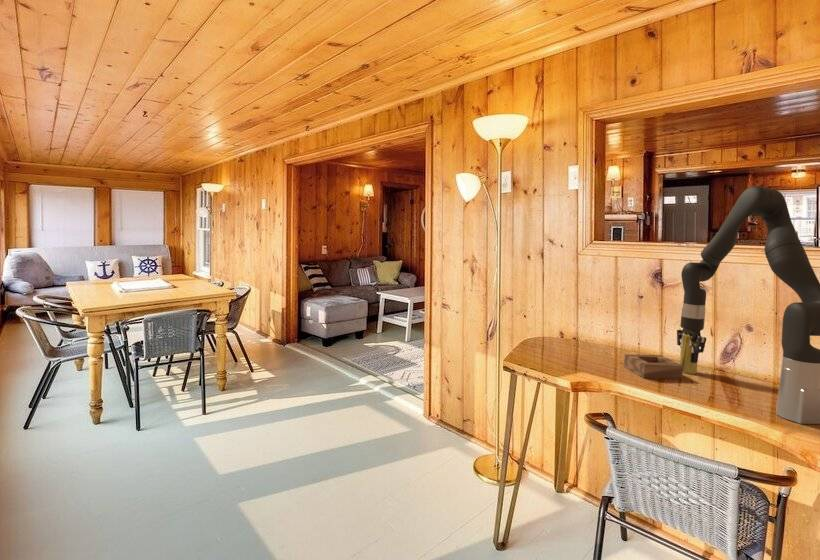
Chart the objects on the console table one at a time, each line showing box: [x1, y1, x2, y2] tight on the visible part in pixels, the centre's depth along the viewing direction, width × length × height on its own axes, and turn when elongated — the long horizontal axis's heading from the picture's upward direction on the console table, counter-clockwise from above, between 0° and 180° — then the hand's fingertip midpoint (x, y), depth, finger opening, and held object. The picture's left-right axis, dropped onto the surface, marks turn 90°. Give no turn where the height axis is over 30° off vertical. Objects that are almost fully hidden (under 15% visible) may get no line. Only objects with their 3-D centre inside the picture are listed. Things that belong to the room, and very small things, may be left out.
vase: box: [679, 334, 698, 375], centre depth 176 cm, size 6×6×14 cm
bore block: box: [623, 353, 683, 380], centre depth 174 cm, size 14×14×5 cm
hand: (688, 360), depth 177 cm, fingers closed on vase, 5 cm apart
